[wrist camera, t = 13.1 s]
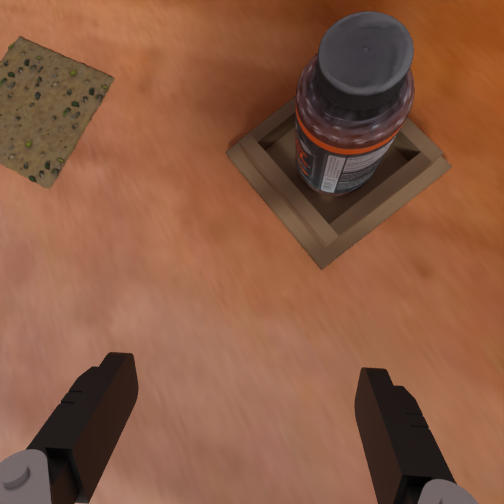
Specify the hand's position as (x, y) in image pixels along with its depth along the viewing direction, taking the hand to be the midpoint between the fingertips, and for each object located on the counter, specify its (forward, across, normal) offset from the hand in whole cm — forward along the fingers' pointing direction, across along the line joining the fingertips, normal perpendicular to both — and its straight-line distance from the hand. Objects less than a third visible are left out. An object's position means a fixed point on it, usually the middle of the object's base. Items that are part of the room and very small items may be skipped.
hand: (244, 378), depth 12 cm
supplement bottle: (+17, -5, -5) cm, 19 cm away
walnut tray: (+18, -5, -5) cm, 20 cm away
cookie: (+24, +22, -8) cm, 33 cm away
